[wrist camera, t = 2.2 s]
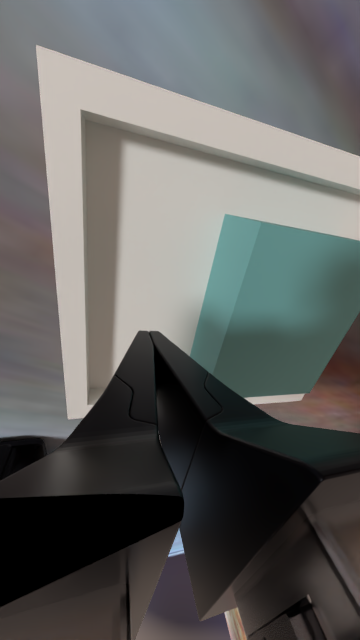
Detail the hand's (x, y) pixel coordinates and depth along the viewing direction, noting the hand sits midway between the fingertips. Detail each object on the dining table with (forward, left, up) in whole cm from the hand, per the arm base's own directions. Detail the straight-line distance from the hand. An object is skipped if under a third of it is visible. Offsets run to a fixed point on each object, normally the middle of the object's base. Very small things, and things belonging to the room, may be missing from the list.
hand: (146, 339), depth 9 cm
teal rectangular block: (0, -8, -4) cm, 9 cm away
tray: (0, -6, -5) cm, 8 cm away
